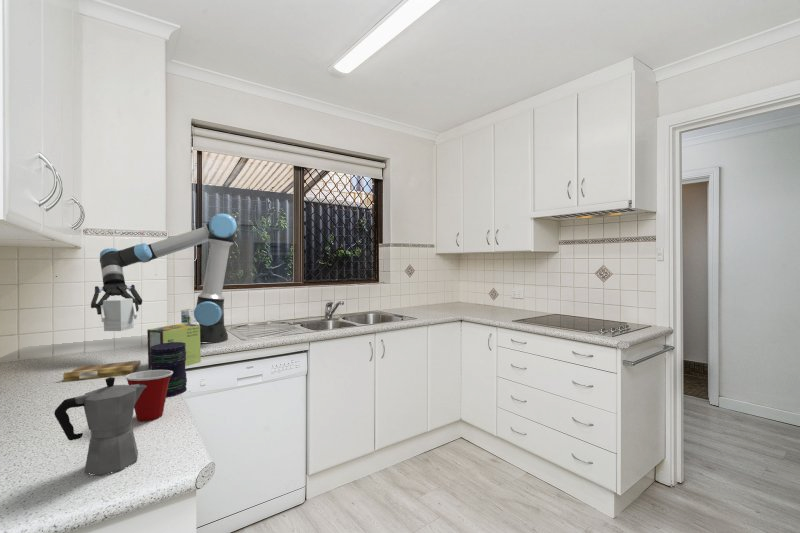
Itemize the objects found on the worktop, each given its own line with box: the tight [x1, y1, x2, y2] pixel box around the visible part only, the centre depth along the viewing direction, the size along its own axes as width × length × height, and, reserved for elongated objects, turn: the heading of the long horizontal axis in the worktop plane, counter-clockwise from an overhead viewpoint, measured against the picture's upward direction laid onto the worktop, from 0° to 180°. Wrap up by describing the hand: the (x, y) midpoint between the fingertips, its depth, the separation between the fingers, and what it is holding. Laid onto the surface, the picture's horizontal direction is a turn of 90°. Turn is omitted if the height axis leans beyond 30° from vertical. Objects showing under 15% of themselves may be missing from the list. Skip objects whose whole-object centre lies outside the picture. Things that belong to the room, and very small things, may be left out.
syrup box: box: [180, 308, 198, 325], centre depth 214 cm, size 6×6×14 cm
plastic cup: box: [124, 369, 173, 422], centre depth 103 cm, size 11×11×12 cm
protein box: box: [146, 323, 202, 370], centre depth 153 cm, size 10×15×16 cm
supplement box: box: [103, 297, 134, 332], centre depth 158 cm, size 7×7×13 cm
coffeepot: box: [54, 376, 147, 476], centre depth 78 cm, size 15×9×18 cm, turn 144°
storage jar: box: [150, 342, 188, 398], centre depth 122 cm, size 10×10×15 cm
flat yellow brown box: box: [63, 359, 142, 382], centre depth 144 cm, size 20×15×3 cm
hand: (119, 318), depth 156 cm, fingers closed on supplement box, 10 cm apart
